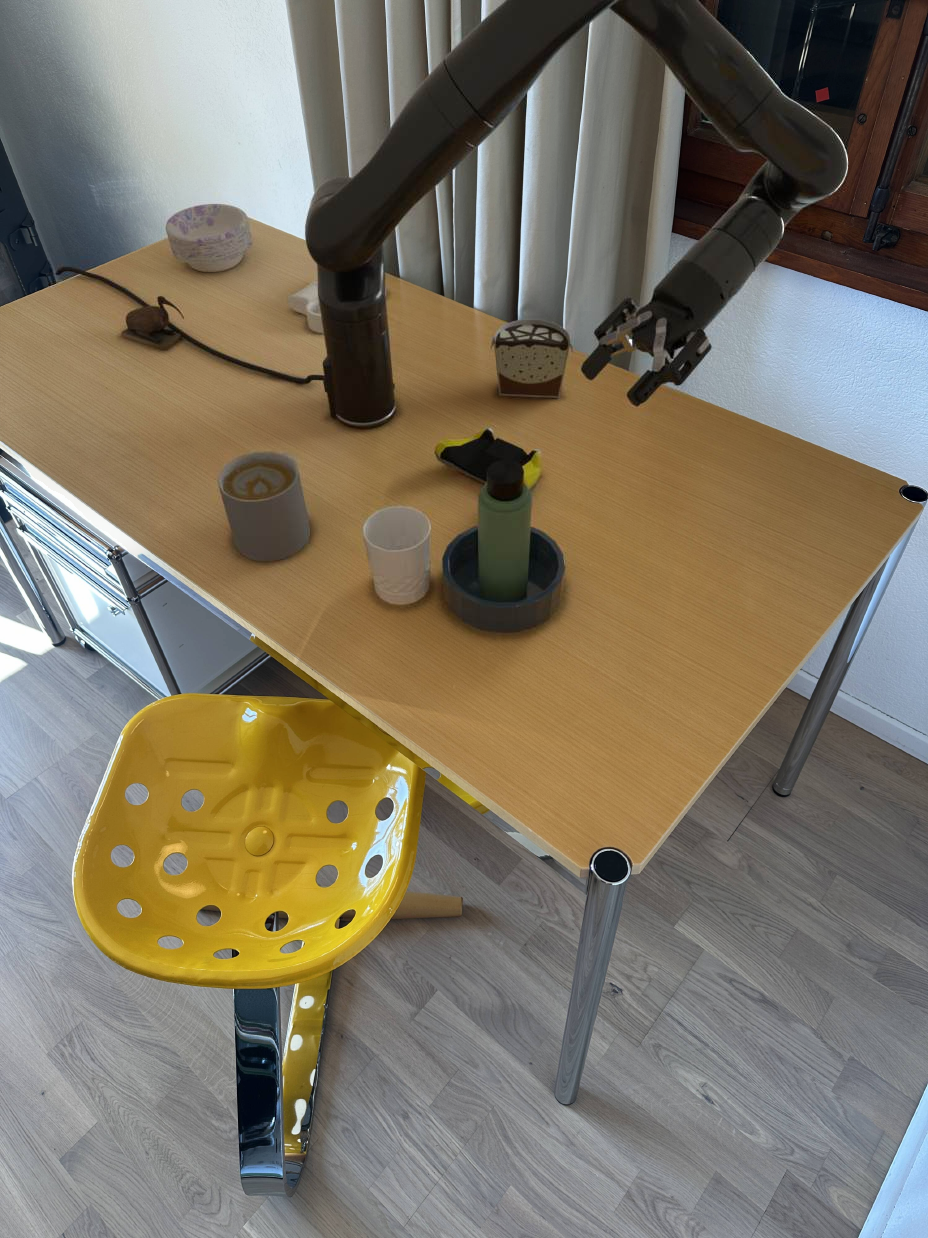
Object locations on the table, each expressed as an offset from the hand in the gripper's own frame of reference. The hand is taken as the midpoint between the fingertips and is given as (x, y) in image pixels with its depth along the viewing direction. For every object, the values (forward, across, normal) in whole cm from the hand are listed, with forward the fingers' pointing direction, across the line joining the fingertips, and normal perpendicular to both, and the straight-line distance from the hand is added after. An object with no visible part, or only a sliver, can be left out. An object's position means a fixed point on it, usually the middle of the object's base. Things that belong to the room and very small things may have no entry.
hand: (607, 387), depth 102 cm
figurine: (+34, -78, -10) cm, 86 cm away
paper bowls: (+17, -100, -3) cm, 102 cm away
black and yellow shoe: (+15, -17, +12) cm, 25 cm away
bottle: (+26, +2, +7) cm, 27 cm away
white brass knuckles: (+8, -71, +7) cm, 72 cm away
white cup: (+34, -5, +2) cm, 34 cm away
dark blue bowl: (+26, +2, +8) cm, 27 cm away
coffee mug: (+40, -23, -5) cm, 46 cm away
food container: (-1, -33, +19) cm, 38 cm away
